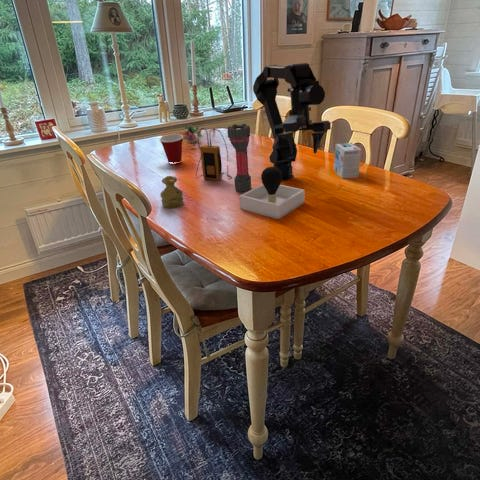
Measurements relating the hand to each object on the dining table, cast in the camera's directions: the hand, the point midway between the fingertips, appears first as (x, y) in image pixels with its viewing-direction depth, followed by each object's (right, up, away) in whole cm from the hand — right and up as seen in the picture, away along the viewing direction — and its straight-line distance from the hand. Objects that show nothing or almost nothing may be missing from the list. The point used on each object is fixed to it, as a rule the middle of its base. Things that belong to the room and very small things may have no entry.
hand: (303, 153), depth 125 cm
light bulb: (-11, -18, -7) cm, 22 cm away
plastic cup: (-52, +6, +43) cm, 68 cm away
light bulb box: (+20, -4, +17) cm, 26 cm away
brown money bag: (-45, -18, -1) cm, 48 cm away
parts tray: (-11, -19, -7) cm, 23 cm away
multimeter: (-31, -4, +23) cm, 39 cm away
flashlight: (-21, -12, +8) cm, 25 cm away
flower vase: (-49, +24, +76) cm, 93 cm away
